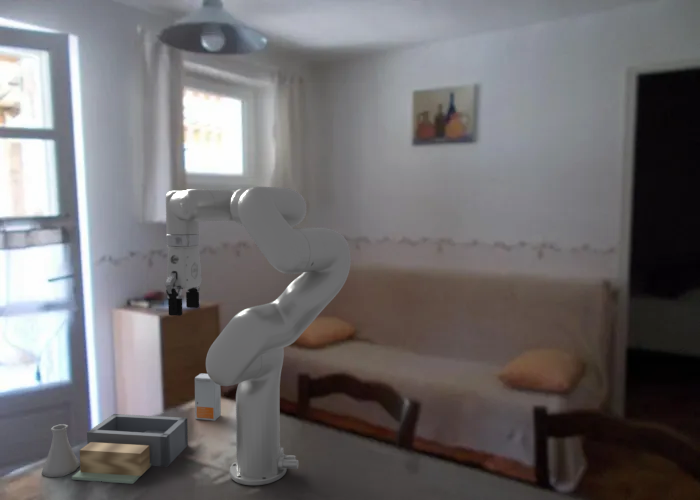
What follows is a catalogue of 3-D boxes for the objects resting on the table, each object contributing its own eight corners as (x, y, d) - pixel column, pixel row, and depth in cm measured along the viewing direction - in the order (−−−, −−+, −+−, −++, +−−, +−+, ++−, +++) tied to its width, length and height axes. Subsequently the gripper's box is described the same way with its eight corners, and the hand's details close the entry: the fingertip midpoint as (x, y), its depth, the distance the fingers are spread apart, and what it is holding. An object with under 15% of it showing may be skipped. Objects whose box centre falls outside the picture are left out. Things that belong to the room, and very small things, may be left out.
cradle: (187, 445, 131) (187, 417, 131) (167, 466, 120) (166, 436, 120) (114, 440, 134) (113, 413, 133) (87, 461, 123) (86, 432, 122)
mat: (151, 465, 121) (151, 463, 121) (132, 483, 113) (132, 481, 113) (94, 461, 123) (93, 459, 123) (71, 479, 115) (71, 476, 115)
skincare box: (194, 419, 147) (193, 377, 146) (201, 413, 151) (200, 372, 150) (215, 421, 146) (214, 378, 145) (221, 415, 150) (220, 374, 149)
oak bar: (149, 467, 119) (149, 445, 119) (140, 475, 115) (140, 453, 115) (91, 463, 121) (90, 442, 120) (80, 472, 117) (79, 450, 116)
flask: (63, 480, 114) (61, 435, 114) (34, 476, 116) (32, 432, 115) (86, 464, 122) (84, 421, 121) (59, 461, 123) (57, 419, 122)
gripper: (182, 244, 120) (183, 319, 121) (211, 239, 137) (212, 305, 138) (150, 243, 121) (152, 318, 122) (183, 239, 138) (185, 304, 139)
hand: (184, 311), depth 130 cm, fingers open, 9 cm apart
